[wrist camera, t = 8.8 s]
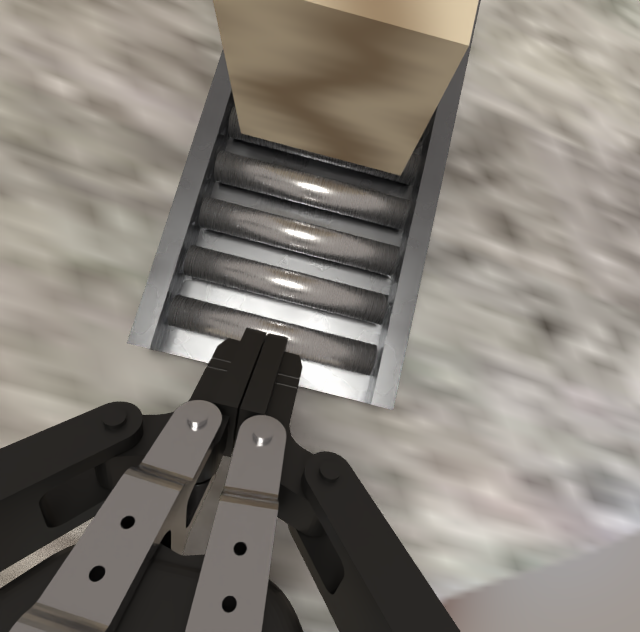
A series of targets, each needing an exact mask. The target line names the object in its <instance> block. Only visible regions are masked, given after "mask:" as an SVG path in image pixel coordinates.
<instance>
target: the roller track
mask: <svg viewBox="0 0 640 632" xmlns="http://www.w3.org/2000/svg"><path fill="white" fill-rule="evenodd" d="M480 1H481V0H479V1H478V6H477V11H476V15H475V20H474V25H473V29H472V34H471V39H470V43H469V47H468V49H467V51H466V52H465V54H464V56H463V58H462V60H461V62H460V64H459V66H458V68H457V69H456V71H455V73H454V75H453V77H452V79H451V81H450V83H449V85H448V87H447V88H446V90H445V92H444V94H443V96H442V98H441V100H440V102H439V104H438V106H437V107H436V109H435V111H434V113H433V115H432V117H431V119H430V121H429V123H428V125H427V126H426V128H425V130H424V132H423V134H422V136H421V138H420V140H419V142H418V144H417V145H416V147H415V149H414V151H413V153H412V155H411V157H410V159H409V161H408V163H407V164H406V166H405V168H404V170H403V172H402V174H401V176H400V175H396V174H392V173H388V172H385V171H381V170H377V169H373V168H370V167H366V166H362V165H358V164H355V163H351V162H347V161H343V160H340V159H336V158H332V157H328V156H325V155H321V154H317V153H313V152H309V151H306V150H302V149H298V148H294V147H291V146H287V145H283V144H279V143H276V142H272V141H268V140H264V139H261V138H257V137H253V136H249V135H245V134H242V133H241V131H240V126H239V121H238V116H237V112H236V107H235V102H234V97H233V93H232V88H231V83H230V78H229V74H228V69H227V64H226V59H225V55H224V50H223V51H222V54H221V57H220V60H219V63H218V66H217V69H216V72H215V75H214V78H213V81H212V84H211V87H210V90H209V93H208V96H207V100H206V103H205V106H204V109H203V112H202V115H201V118H200V121H199V124H198V127H197V130H196V133H195V136H194V139H193V142H192V145H191V148H190V152H189V155H188V158H187V161H186V164H185V167H184V170H183V173H182V176H181V179H180V182H179V185H178V188H177V191H176V194H175V197H174V201H173V204H172V207H171V210H170V213H169V216H168V219H167V222H166V225H165V228H164V231H163V234H162V237H161V240H160V243H159V246H158V249H157V253H156V256H155V259H154V262H153V265H152V268H151V271H150V274H149V277H148V280H147V283H146V286H145V289H144V292H143V295H142V298H141V302H140V305H139V308H138V311H137V314H136V317H135V320H134V323H133V326H132V329H131V332H130V335H129V338H128V341H127V343H128V344H132V345H136V346H140V347H144V348H148V349H152V350H157V351H162V352H166V353H170V354H174V355H178V356H182V357H186V358H190V359H194V360H198V361H202V362H206V363H209V361H210V359H211V358H212V356H213V354H214V352H215V350H216V348H217V346H218V345H219V344H221V343H222V342H223V341H225V340H226V339H227V338H231V339H235V340H239V341H240V340H241V338H242V336H243V334H244V331H245V329H246V328H247V327H248V328H252V329H256V330H260V331H264V332H267V335H268V333H273V334H277V335H281V336H285V337H288V343H287V347H286V352H289V353H293V354H297V355H299V356H300V359H301V363H302V366H303V367H302V372H301V376H300V380H299V385H298V386H301V387H305V388H309V389H313V390H317V391H321V392H325V393H329V394H333V395H337V396H341V397H345V398H349V399H353V400H357V401H361V402H365V403H368V404H371V405H375V406H379V407H383V408H387V409H391V410H393V409H394V404H395V399H396V395H397V390H398V385H399V381H400V376H401V371H402V367H403V362H404V357H405V353H406V348H407V343H408V338H409V334H410V329H411V324H412V320H413V315H414V310H415V306H416V301H417V296H418V292H419V287H420V282H421V277H422V273H423V268H424V263H425V259H426V254H427V249H428V245H429V240H430V235H431V231H432V226H433V221H434V216H435V212H436V207H437V202H438V198H439V193H440V188H441V184H442V179H443V174H444V170H445V165H446V160H447V155H448V151H449V146H450V141H451V137H452V132H453V127H454V123H455V118H456V113H457V109H458V104H459V99H460V95H461V90H462V85H463V80H464V76H465V71H466V66H467V62H468V57H469V52H470V48H471V43H472V38H473V34H474V29H475V24H476V19H477V15H478V10H479V5H480Z"/></svg>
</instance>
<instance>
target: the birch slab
mask: <svg viewBox="0 0 640 632" xmlns="http://www.w3.org/2000/svg"><path fill="white" fill-rule="evenodd" d="M478 1H479V0H213V2H214V7H215V12H216V17H217V21H218V26H219V31H220V36H221V40H222V45H223V50H224V55H225V59H226V64H227V69H228V74H229V78H230V83H231V88H232V93H233V97H234V102H235V107H236V112H237V116H238V121H239V126H240V131H241V133H242V134H245V135H249V136H253V137H257V138H261V139H264V140H268V141H272V142H276V143H279V144H283V145H287V146H291V147H294V148H298V149H302V150H306V151H309V152H313V153H317V154H321V155H325V156H328V157H332V158H336V159H340V160H343V161H347V162H351V163H355V164H358V165H362V166H366V167H370V168H373V169H377V170H381V171H385V172H388V173H392V174H396V175H400V176H401V174H402V172H403V170H404V168H405V166H406V164H407V163H408V161H409V159H410V157H411V155H412V153H413V151H414V149H415V147H416V145H417V144H418V142H419V140H420V138H421V136H422V134H423V132H424V130H425V128H426V126H427V125H428V123H429V121H430V119H431V117H432V115H433V113H434V111H435V109H436V107H437V106H438V104H439V102H440V100H441V98H442V96H443V94H444V92H445V90H446V88H447V87H448V85H449V83H450V81H451V79H452V77H453V75H454V73H455V71H456V69H457V68H458V66H459V64H460V62H461V60H462V58H463V56H464V54H465V52H466V51H467V49H468V47H469V43H470V39H471V34H472V29H473V25H474V20H475V15H476V11H477V6H478Z"/></svg>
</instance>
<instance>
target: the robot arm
mask: <svg viewBox="0 0 640 632" xmlns="http://www.w3.org/2000/svg"><path fill="white" fill-rule="evenodd" d="M287 343H288V337H285V336H281V335H277V334H273V333H268V335H267V332H264V331H260V330H256V329H252V328H248V327H247V328H246V329H245V331H244V334H243V336H242V338H241V340H240V341H239V340H235V339H231V338H227V339H226V340H225V341H223V342H222V343H221V344H219V345H218V346H217V348H216V350H215V352H214V354H213V356H212V358H211V359H210V361H209V363H208V365H207V367H206V369H205V371H204V373H203V375H202V377H201V379H200V381H199V383H198V385H197V387H196V388H195V390H194V392H193V394H192V396H191V398H190V400H189V401H188V402H186V403H184V404H182V405H181V406H179V407H178V408H177V409H176V410H175V411H174V412H171V413H168V414H160V415H142V413H141V411H140V410H139V408H138V407H136V406H135V405H133V404H131V403H128V402H112V403H108V404H105V405H102V406H100V407H98V408H95V409H93V410H91V411H88V412H86V413H84V414H81V415H79V416H77V417H74V418H72V419H69V420H67V421H65V422H62V423H60V424H58V425H55V426H53V427H51V428H48V429H46V430H44V431H41V432H39V433H36V434H34V435H32V436H29V437H27V438H25V439H22V440H20V441H18V442H15V443H13V444H11V445H8V446H6V447H3V448H1V449H0V572H1V571H2V570H4V569H6V568H8V567H9V566H11V565H13V564H14V563H16V562H18V561H20V560H21V559H23V558H25V557H26V556H28V555H30V554H31V553H33V552H35V551H37V550H38V549H40V548H42V547H43V546H45V545H47V544H49V543H50V542H52V541H54V540H55V539H57V538H59V537H60V536H62V535H64V534H66V533H67V532H69V531H71V530H72V529H74V528H76V527H78V526H79V525H81V524H83V523H84V522H86V521H88V520H90V519H91V518H93V517H94V518H93V520H92V521H91V523H90V524H89V526H88V527H87V529H86V530H85V532H84V533H83V535H82V536H81V538H80V539H79V541H78V542H77V543H76V544H75V545H72V546H70V547H67V548H65V549H63V550H61V551H59V552H57V553H55V554H53V555H52V556H50V557H48V558H47V559H45V560H44V561H42V562H41V563H39V564H37V565H36V566H34V567H33V568H31V569H30V570H28V571H27V572H25V573H23V574H22V575H20V576H19V577H17V578H16V579H14V580H13V581H11V582H9V583H8V584H6V585H5V586H3V587H2V588H0V632H303V630H302V627H301V625H300V622H299V620H298V617H297V615H296V613H295V610H294V609H293V607H292V605H291V603H290V602H289V600H288V599H287V597H286V596H285V595H284V593H283V592H282V591H281V590H280V589H279V588H278V587H277V586H276V585H275V584H274V583H273V582H272V581H271V580H269V572H270V565H271V558H272V550H273V543H274V535H275V528H276V521H277V517H278V518H280V519H281V520H283V521H285V522H286V523H288V527H289V530H290V533H291V535H292V537H293V539H294V541H295V543H296V545H297V547H298V549H299V551H300V553H301V555H302V557H303V559H304V561H305V563H306V565H307V567H308V569H309V571H310V573H311V575H312V577H313V579H314V581H315V583H316V585H317V587H318V589H319V591H320V593H321V595H322V597H323V599H324V601H325V603H326V605H327V607H328V609H329V611H330V613H331V615H332V617H333V619H334V621H335V624H336V626H337V628H338V630H339V632H460V630H459V629H458V627H457V626H456V624H455V623H454V621H453V620H452V618H451V617H450V615H449V614H448V612H447V611H446V609H445V608H444V606H443V605H442V603H441V602H440V600H439V599H438V597H437V596H436V594H435V593H434V591H433V590H432V588H431V587H430V585H429V584H428V582H427V581H426V579H425V578H424V576H423V575H422V573H421V572H420V570H419V569H418V567H417V566H416V564H415V563H414V561H413V560H412V558H411V557H410V555H409V554H408V552H407V551H406V549H405V548H404V546H403V545H402V543H401V542H400V540H399V539H398V537H397V536H396V534H395V533H394V531H393V530H392V528H391V527H390V525H389V524H388V522H387V521H386V519H385V518H384V516H383V515H382V513H381V512H380V510H379V509H378V507H377V506H376V504H375V503H374V501H373V500H372V498H371V497H370V495H369V494H368V492H367V491H366V489H365V488H364V486H363V485H362V483H361V482H360V480H359V479H358V477H357V476H356V474H355V473H354V471H353V470H352V468H351V467H350V465H349V464H348V462H347V461H346V460H345V459H344V458H342V457H341V456H339V455H337V454H335V453H332V452H319V453H316V454H314V455H313V454H312V453H310V452H308V451H307V450H305V449H303V448H302V447H300V446H299V445H298V444H297V443H296V442H295V441H294V439H293V438H292V436H291V433H290V430H289V424H290V419H291V414H292V410H293V406H294V402H295V397H296V393H297V389H298V385H299V380H300V376H301V372H302V367H303V366H302V363H301V359H300V356H299V355H297V354H293V353H289V352H286V347H287ZM233 449H234V451H233ZM232 452H233V455H232ZM223 455H224V456H229V457H231V455H232V459H231V463H230V467H229V471H228V475H227V479H226V483H225V486H224V490H223V491H222V493H221V496H220V500H219V503H218V507H217V511H216V515H215V519H214V523H213V526H212V530H211V534H210V538H209V542H208V546H207V550H206V553H205V555H193V556H183V552H184V548H185V545H186V541H187V538H188V535H189V533H190V531H191V528H192V526H193V524H194V522H195V520H196V518H197V515H198V513H199V511H200V509H201V507H202V505H203V502H204V500H205V498H206V496H207V494H208V492H209V489H210V487H211V485H212V483H213V481H214V479H215V476H216V471H217V469H218V467H219V464H220V462H221V459H222V456H223Z"/></svg>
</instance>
